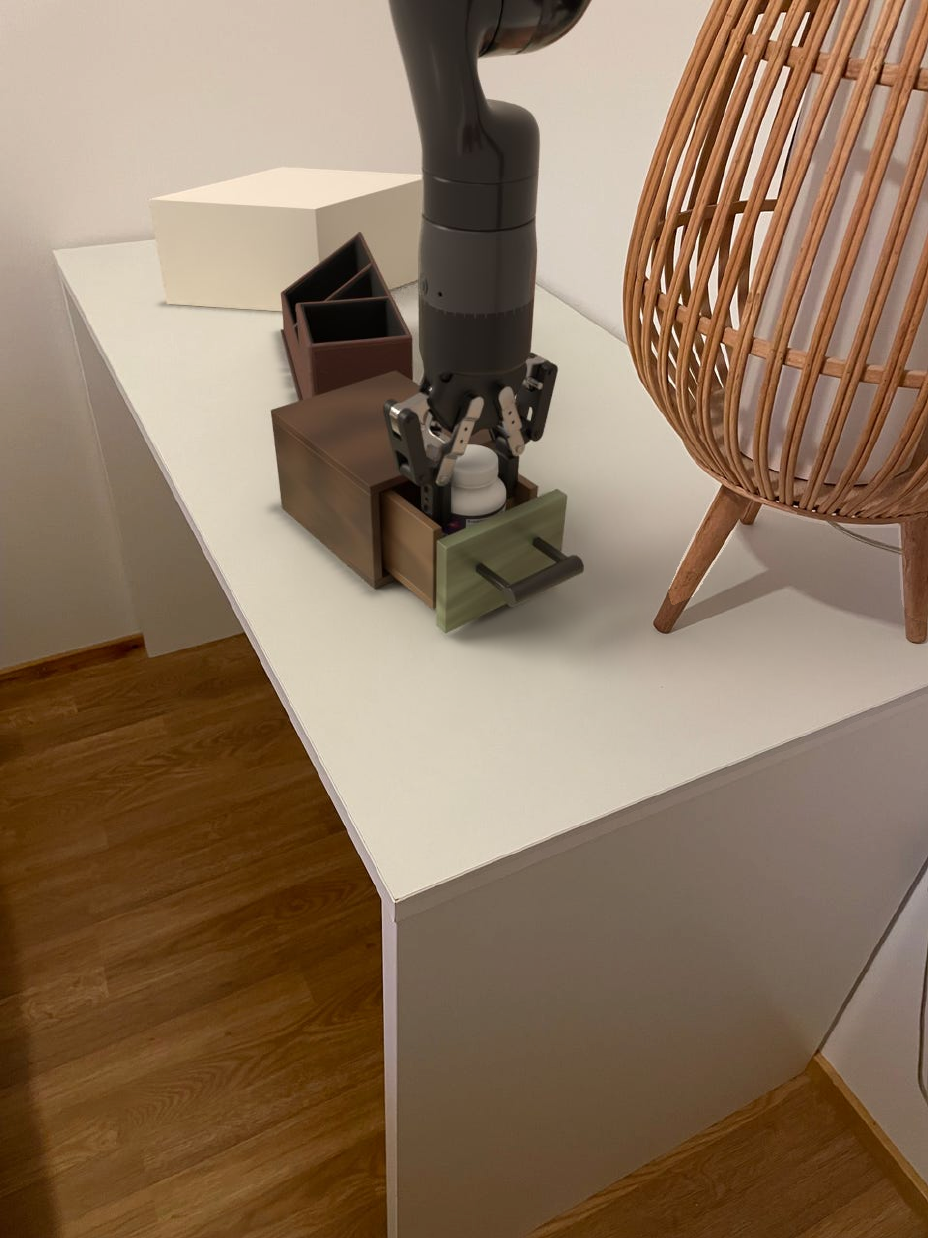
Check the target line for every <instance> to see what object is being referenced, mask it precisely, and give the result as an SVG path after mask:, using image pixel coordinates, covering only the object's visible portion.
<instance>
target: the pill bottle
mask: <svg viewBox="0 0 928 1238" xmlns="http://www.w3.org/2000/svg"><path fill="white" fill-rule="evenodd" d="M497 476H498V457H497V455H496V453H495V452H494V451H493V450H491V449H489V448H487V447H484V446H481V445H472V444H467V447H466V450H465V452H464V454H463V456H461V457H458V458H457V460H456V463H455V466H454V468H453V471H452V474H451V477H450V480H449V482H451V483H452V484H451V523H450V524H448V525H445V526H443V527H441V528H442V538H444V537H446V536H449V535H451V534H453V533H456V532H458V531H460V530H463V529H465V528H467V527H470V526H472V525H474V524H476V523H479V522H481V521H483V520H486V519H488V518H490V517H493V516H495V515H497V514H500V513H502V512H504V511H505V509H506V488H505V486H504V484H503V482H502V481H501V480H500V479H499V478H498V477H497Z"/></svg>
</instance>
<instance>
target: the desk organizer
mask: <svg viewBox="0 0 928 1238" xmlns="http://www.w3.org/2000/svg"><path fill="white" fill-rule="evenodd" d="M281 302H282V311H281V312H282V313H281V314H282V329H279V331H280V334H281V338H282V342H283V346H284V350H285V353H286V357H287V362H288V365H289V370H290V374H291V377H292V382H293V386H294V389H295V393H296V397H297V402H298V401H301V400H304V399H307V398H310V397H313V396H317V395H320V394H323V393H326V392H329V391H332V390H336V389H339V388H342V387H345V386H348V385H351V384H354V383H358V382H361V381H364V380H367V379H370V378H373V377H377V376H380V375H383V374H386V373H389V372H392V371H397V372H399V373H401V374H402V375H404V376H405V377H407V378H409V379H410V380H412V381H413V382H414V365H413V364H414V363H413V361H414V360H413V359H414V358H413V355H414V354H413V352H414V351H413V339H414V338H413V335H412V332H411V331H410V329H409V326H408V325H407V323H406V321H405V320H404V317H403V315H402V312H401V311H400V309H399V306H398V305H397V303H396V301H395V299H394V297H393V295H392V293H391V290H389V289H388V287H387V285H386V283H385V281H384V279H383V277H382V275H381V273H380V271H379V268H378V266H377V264H376V262H375V260H374V258H373V256H372V254H371V252H370V249H369V247H368V245H367V243H366V241H365V239H364V237H363V235H362V233H361V232H358V233H357V234H356V235H355V236H354V237H353V238H351V239H350V240H349V241H347V242H346V243H345V244H344V245H342V246H341V247H340V248H339V249H337V250H336V251H335V252H333V253H332V254H331V255H330V256H328V257H327V258H326V259H324V260H323V261H322V262H320V263H319V264H318V265H316V266H315V267H314V268H313V269H311V270H310V271H309V272H307V273H306V274H305V275H303V276H302V277H301V278H299V279H298V280H297V281H295V282H294V283H293V284H291V285H290V286H289V287H287V288H286V289H285V290H284V291H282V292H281Z"/></svg>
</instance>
